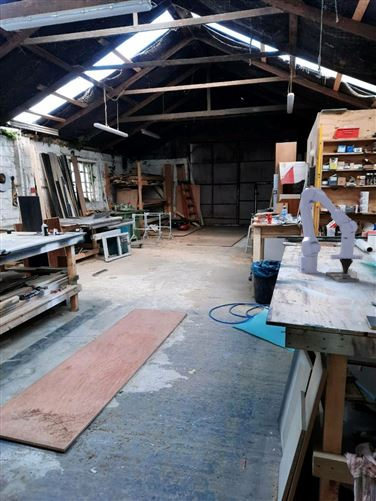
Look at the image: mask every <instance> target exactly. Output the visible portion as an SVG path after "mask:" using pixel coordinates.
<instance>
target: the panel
mask: <svg viewBox="0 0 376 501" xmlns="http://www.w3.org/2000/svg"><path fill="white" fill-rule="evenodd" d="M325 275H326V276H327V277H329V278H331V279H333V280H334V281H336V283H359V282H360V278H358V277H357V278H352V277H350V275H347V274H344V273H343V272H341V271H326V272H325Z"/></svg>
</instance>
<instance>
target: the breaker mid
mask: <svg viewBox="0 0 376 501" xmlns="http://www.w3.org/2000/svg"><path fill="white" fill-rule="evenodd" d="M351 271H353V269H352V268H350V267H349V269H348V271H347V275H351Z"/></svg>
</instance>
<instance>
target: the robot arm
mask: <svg viewBox="0 0 376 501" xmlns="http://www.w3.org/2000/svg"><path fill="white" fill-rule="evenodd" d="M316 202H317V203H320V204H321V205H322V206H323V207H324V208H325V209H326V210H327V211H329V213H330V214H331V215H330V218H331V219H332V220H333V222H335V223H336V225H338V227H339V231H340V232H341V237H340V238H341V239H340V240H341V241H340V251H339V252H340V254H331V255H330V256H329V257H330V260H339V262H340V264H341V266H342V267H343V273H344V274H347V271H348V269H349V268H350V267H351V266H352V263H354V260H363V258H364V256H363V255H362V254H354V251H355V240H356V238H355V237H356V232H357V230H358V228H359V227H358V224H357V222H356V221H355V220H352V218H350V217H349V216H348V215H347V214H346V213H345V212H346V211H345V210H344V209H340V208H337V207H336V206H335V205H334V203H333V202H332V201H331V199H329V197H328V195H327V194H326V192H325V191H323V189H322V188H320V187H306V188H305V189H304V190H303V191H302V192H301V199H300V201H299V211H300V217H301V218H300V220H301V225H302V231H303V239H302V241H301V247H300V250H301V253H302V255H298V258H297V269H296V270H297V271H298V272H300V273H301V274H320V273H321V272H320V271H319V270H318V259H319V256H318V255H319V253H320V251H321V249H322V248H321V244H320V242H319V239H318V238H317V237H316V235H315V234H316V233H315V227H314V220H313V215H312V214H313V213H312V206H313V205H314V204H315V203H316Z"/></svg>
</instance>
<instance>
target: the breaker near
mask: <svg viewBox="0 0 376 501" xmlns="http://www.w3.org/2000/svg"><path fill="white" fill-rule="evenodd" d="M350 277H352V278H358V271H356V270H352V271H351V275H350Z"/></svg>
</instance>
